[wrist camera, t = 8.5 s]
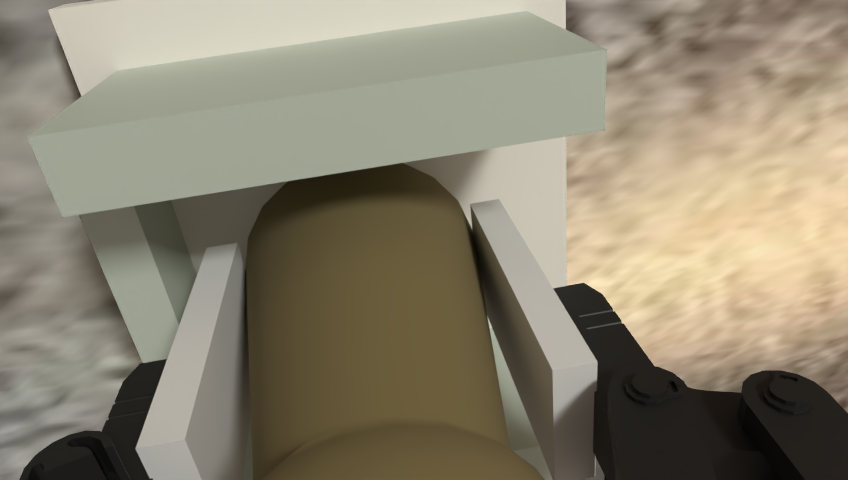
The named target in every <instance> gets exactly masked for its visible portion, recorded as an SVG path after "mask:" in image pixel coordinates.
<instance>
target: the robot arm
mask: <svg viewBox="0 0 848 480" xmlns="http://www.w3.org/2000/svg"><path fill="white" fill-rule="evenodd" d="M470 208H471V220H472V231H473V236H474V242H475V247H476V253H477V259H478V265H479V271H480V276H481V282H482V288H483V294H484V299H485V305H486V311H487V316H488V319H489V321H490V324H491V326H492V329H493V331H494V334H495V336H496V339H497V341H498V344H499V346H500V349H501V351H502V354H503V356H504V359H505V361H506V364H507V366H508V369H509V371H510V374H511V376H512V379H513V381H514V384H515V386H516V389H517V391H518V394H519V396H520V399H521V401H522V404H523V406H524V409H525V411H526V414H527V416H528V419H529V421H530V424H531V426H532V429H533V431H534V434H535V436H536V439H537V441H538V444H539V446H540V449H541V451H542V454H543V456H544V459H545V461H546V464H547V466H548V469H549V471H550V474H551V476H552V479H553V480H580V479H585V478H590V477H595V456H596V458H597V460H598V462H599V464H600V467H601V469H602V471H603V473H604V475H605V480H848V413H847V412H846V411H845V410H844V409H843V408H842V407H841V406H840V405H839V404H838V403H837V402H836V401H835V399H834V398H833V397H832V396H831V395H830V394H829V393H828V392H827V391H826V390H824V389H823V388H822V387H820V386H819V385H818V384H817V383H815V382H814V381H811V380H809V379H807V378H805V377H803V376H800V375H798V374H794V373H789V372H785V371H761V372H758V373H755V374H752V375H750V376H749V377H748V378H747V379H746V380H745V381H744V382H743V385H742V391H741V393H736V392H718V391H704V390H697V389H692V388H689V387H687V386H686V384H685V383H684V381H683V380H681V379H680V378H679V377H677V376H676V375H675V374H674V373H672V372H670V371H667V370H665V369H662V368H659V367H655V366H654V365H653V364H652V362H651V361H650V360H649V358H648V357H647V355H646V354H645V353H644V351H643V350H642V349H641V347H640V346H639V344H638V343H637V342H636V340H635V339H634V337H633V336H632V335H631V333H630V332H629V331H628V329H627V328H626V326H625V325H624V324H622V323H621V320H620V318H619V317H618V315H617V314H616V313H615V311H614V312H613V309H612V307H611V306H610V304H609V303H608V302H607V300H606V299H605V297H604V296H603V295H602V294H601V293H599V292H598V291H596V290H595V289H593V288H591V287H590V286H588V285H586V284H585V283H580V284H575V285H569V286H564V287H558V288H553V287H552V286H551V284H550V282H549V281H548V279H547V278H546V276H545V274H544V273H543V271H542V269H541V268H540V266H539V264H538V263H537V261H536V259H535V258H534V256H533V254H532V253H531V251H530V249H529V248H528V246H527V244H526V243H525V241H524V239H523V238H522V236H521V235H520V233H519V231H518V230H517V228H516V226H515V225H514V223H513V221H512V220H511V218H510V216H509V215H508V213H507V211H506V210H505V208H504V206H503V205H502V203H501V201H500V200H499V199H496V200H490V201H484V202H478V203H472V204H470ZM108 417H109V420H106V423H105V425H104V427H103V430H102V432H100V431H83V432H79V433H75V434H71V435H68V436H66V437H64V438H62V439H59V440H57V441H55V442H53V443H51V444H50V445H49V446H47V447H46V448H45V449H43V450H42V451H41V452H39V453H38V454H36V455H35V457H34V458H33V459H32V460H31V461H30V462H29V463H28V465H27V466H26V467H25V468H24V470H23V473H22V475H21V477H20V480H242V473H243V466H244V460H245V453H246V446H247V439H248V433H249V426H250V419H251V404H250V376H249V348H248V321H247V293H246V270H245V266H244V263H243V260H242V256H241V253H240V250H239V246H238V243H232V244H226V245H220V246H214V247H208V248H206V251H205V254H204V257H203V260H202V263H201V265H200V268H199V271H198V274H197V277H196V279H195V282H194V285H193V288H192V291H191V294H190V296H189V299H188V302H187V305H186V308H185V310H184V313H183V316H182V319H181V322H180V325H179V327H178V330H177V333H176V336H175V339H174V341H173V344H172V347H171V350H170V353H169V356H168V358H167V359H164V360H158V361H152V362H147V363H141V364H140V365H139V366H138V367H137V368H136V369H135V370H134V371H133V372H132V373H131V374H130V375H129V376H128V377H127V378H126V379H125V380H124V382H123V383H122V386H121V388H120V390H119V393H118V395H117V397H116V400H115V404H114V405H113V407H112V409H111V411H110V414H109V416H108Z"/></svg>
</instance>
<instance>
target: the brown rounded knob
mask: <svg viewBox="0 0 848 480" xmlns="http://www.w3.org/2000/svg"><path fill="white" fill-rule="evenodd" d="M246 293H247V321H248V348H249V376H250V404H251V432H252V460H253V480H544V478H543V477H542V476H541V474H540V473H539V472H538V470H537V469H536V468H535V467H534V466H532V465H531V464H529V463H528V462H527V461H525V460H524V459H523V458H521V457H520V456H519V455H517V454H516V453H514V452H513V451H512V450H511V449H510V444H509V438H508V432H507V426H506V421H505V415H504V409H503V403H502V397H501V392H500V386H499V380H498V374H497V369H496V363H495V357H494V351H493V346H492V340H491V334H490V328H489V322H488V317H487V311H486V305H485V299H484V294H483V288H482V282H481V276H480V271H479V265H478V259H477V253H476V247H475V242H474V236H473V231H472V228H471V226H470V224H469V222H468V220H467V218H466V216H465V214H464V212H463V210H462V207H461V205H460V203H459V201H458V200H457V199H456V198H455V197H454V196H453V195H452V194H451V193H450V192H448V191H447V190H446V189H445V188H444V187H443V186H442V185H441V184H440V183H439V182H438V181H437V180H436V179H435V178H434V177H432V176H430V175H428V174H426V173H424V172H421V171H419V170H417V169H415V168H413V167H411V166H409V165H406V164H404V163H398V164H392V165H386V166H379V167H373V168H367V169H361V170H355V171H348V172H342V173H336V174H330V175H323V176H317V177H311V178H305V179H298V180H292V181H287V182H286V183H285V184H284V185H283V186H282V187H281V188H280V189H279V190H278V191H277V192H276V193H275V194H274V195H273V196H272V197H271V198H270V199H269V200H268V201H267V202H266V203H265V204H264V205H263V206H262V208H261V211H260V213H259V215H258V217H257V219H256V221H255V223H254V226H253V228H252V230H251V232H250V234H249V236H248V243H247V258H246Z"/></svg>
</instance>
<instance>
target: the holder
mask: <svg viewBox="0 0 848 480" xmlns="http://www.w3.org/2000/svg"><path fill="white" fill-rule="evenodd" d="M48 11H49V14H50V17H51V19H52V22H53V24H54V27H55V30H56V32H57V35H58V37H59V40H60V42H61V45H62V48H63V50H64V53H65V55H66V58H67V60H68V63H69V66H70V68H71V71H72V73H73V76H74V78H75V81H76V84H77V86H78V89H79V91H80V94H81V96H82V97H80V98H79V99H78V100H76V101H75V102H74V103H72V104H71V105H70V106H68V107H67V108H66V109H64V110H63V111H61V112H60V113H59V114H57V115H56V116H55V117H53V118H52V119H51V120H49V121H48V122H47V123H45V124H44V125H43V126H41V127H40V128H39V129H37V130H36V131H35V132H33V133H32V134H31V135H29V136H28V137H27V139H28V141H29V143H30V145H31V147H32V150H33V152H34V154H35V156H36V159H37V161H38V163H39V165H40V168H41V170H42V172H43V174H44V177H45V179H46V181H47V183H48V186H49V188H50V190H51V192H52V195H53V197H54V199H55V201H56V204H57V206H58V208H59V210H60V212H61V215H62V217H68V216H74V215H79V217H80V219H81V221H82V223H83V226H84V228H85V230H86V233H87V235H88V237H89V240H90V242H91V244H92V247H93V249H94V251H95V254H96V256H97V258H98V261H99V263H100V265H101V268H102V270H103V272H104V274H105V277H106V279H107V281H108V284H109V286H110V288H111V291H112V293H113V295H114V298H115V300H116V302H117V305H118V307H119V309H120V312H121V314H122V316H123V319H124V321H125V323H126V326H127V328H128V330H129V332H130V335H131V337H132V339H133V342H134V344H135V346H136V349H137V351H138V353H139V356H140V358H141V360H142V363H147V362H152V361H158V360H164V359H167V358H168V356H169V353H170V350H171V347H172V344H173V341H174V339H175V336H176V333H177V330H178V327H179V325H180V322H181V319H182V316H183V313H184V310H185V308H186V305H187V302H188V299H189V296H190V294H191V291H192V288H193V285H194V282H195V279H196V277H197V274H198V271H199V268H200V265H201V263H202V260H203V257H204V254H205V251H206V248H208V247H214V246H220V245H226V244H232V243H238V246H239V250H240V253H241V256H242V260H243V263H244V266H245V270H246V258H247V243H248V236H249V234H250V232H251V230H252V228H253V226H254V223H255V221H256V219H257V217H258V215H259V213H260V211H261V208H262V206H263V205H264V204H265V203H266V202H267V201H268V200H269V199H270V198H271V197H272V196H273V195H274V194H275V193H276V192H277V191H278V190H279V189H280V188H281V187H282V186H283V185H284V184H285V183H286V182H287V181H292V180H298V179H305V178H311V177H317V176H323V175H330V174H336V173H342V172H348V171H355V170H361V169H367V168H373V167H379V166H386V165H392V164H398V163H404V164H406V165H409V166H411V167H413V168H415V169H417V170H419V171H421V172H424V173H426V174H428V175H430V176H432V177H434V178H435V179H436V180H437V181H438V182H439V183H440V184H441V185H442V186H443V187H444V188H445V189H446V190H447V191H448V192H450V193H451V194H452V195H453V196H454V197H455V198H456V199H457V200H458V201H459V203H460V205H461V207H462V210H463V212H464V214H465V216H466V218H467V220H468V222H469V224H470V226H471V228H472V220H471V208H470V204H472V203H478V202H484V201H490V200H496V199H499V200H500V201H501V203H502V205H503V206H504V208H505V210H506V211H507V213H508V215H509V216H510V218H511V220H512V221H513V223H514V225H515V226H516V228H517V230H518V231H519V233H520V235H521V236H522V238H523V239H524V241H525V243H526V244H527V246H528V248H529V249H530V251H531V253H532V254H533V256H534V258H535V259H536V261H537V263H538V264H539V266H540V268H541V269H542V271H543V273H544V274H545V276H546V278H547V279H548V281H549V282H550V284H551V286H552V287H553V288H558V287H564V286H567V233H566V137H567V136H573V135H579V134H585V133H591V132H598V131H604V129H605V92H606V55H607V49H605V48H603V47H600V46H598V45H596V44H594V43H592V42H590V41H588V40H586V39H584V38H582V37H580V36H578V35H576V34H574V33H572V32H569V31H567V30H566V0H92V1H85V2H78V3H71V4H64V5H61V6H58V7H55V8H52V9H49V10H48ZM487 317H488V316H487ZM488 322H489V328H490V334H491V340H492V346H493V351H494V357H495V363H496V369H497V374H498V380H499V386H500V392H501V397H502V403H503V409H504V415H505V421H506V426H507V432H508V438H509V444H510V449H511V450H512V451H513V452H514V453H516V454H517V455H519V456H520V457H521V458H523V459H524V460H525V461H527V462H528V463H529V464H531V465H532V466H534V467H535V468H536V469H537V470H538V472H539V473H540V474H541V476H542V477H543V478H544V480H553V479H552V476H551V474H550V471H549V469H548V466H547V464H546V461H545V459H544V456H543V454H542V451H541V449H540V446H539V444H538V441H537V439H536V436H535V434H534V431H533V429H532V426H531V424H530V421H529V419H528V416H527V414H526V411H525V409H524V406H523V404H522V401H521V399H520V396H519V394H518V391H517V389H516V386H515V384H514V381H513V379H512V376H511V374H510V371H509V369H508V366H507V364H506V361H505V359H504V356H503V354H502V351H501V349H500V346H499V344H498V341H497V339H496V336H495V334H494V331H493V329H492V326H491V324H490V321H489V319H488ZM595 462H596V456H595ZM242 480H253V460H252V432H251V419H250V426H249V433H248V439H247V446H246V453H245V460H244V466H243V473H242Z"/></svg>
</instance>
